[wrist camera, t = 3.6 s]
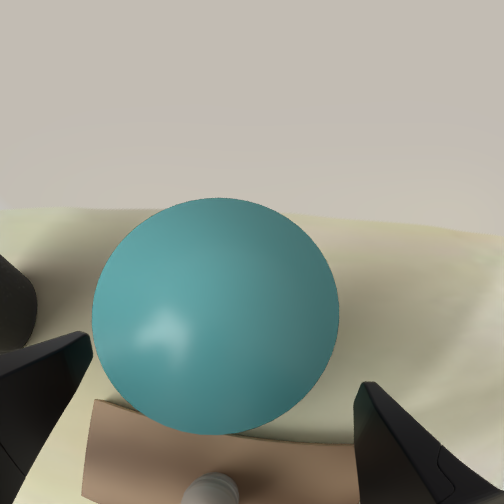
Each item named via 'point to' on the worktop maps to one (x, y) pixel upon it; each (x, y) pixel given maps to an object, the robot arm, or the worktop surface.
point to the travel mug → (15, 308)
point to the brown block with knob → (208, 466)
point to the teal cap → (215, 316)
